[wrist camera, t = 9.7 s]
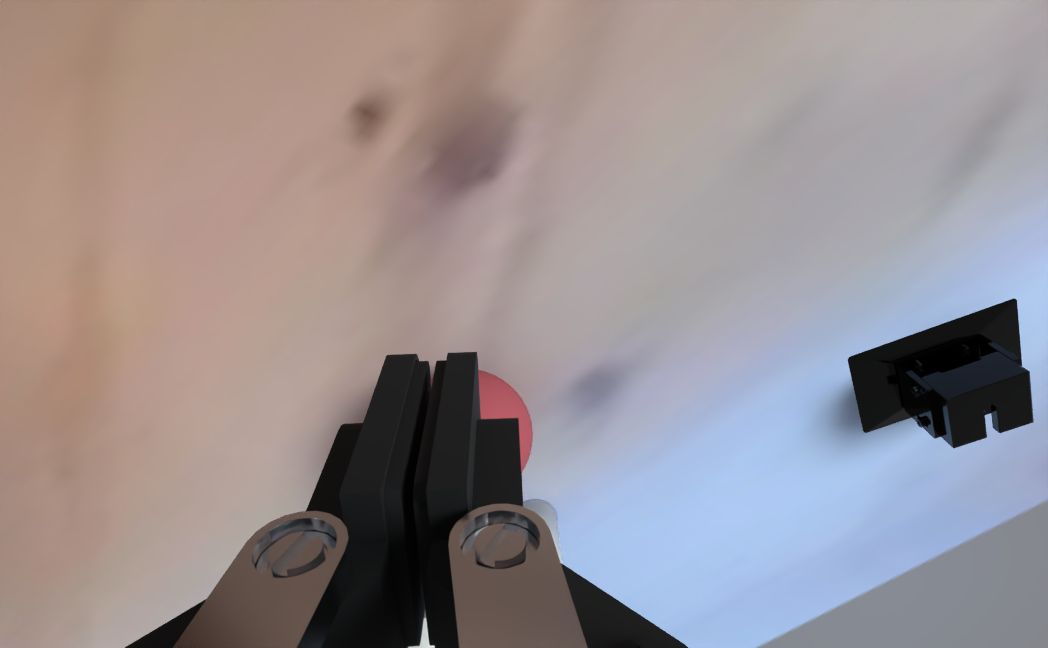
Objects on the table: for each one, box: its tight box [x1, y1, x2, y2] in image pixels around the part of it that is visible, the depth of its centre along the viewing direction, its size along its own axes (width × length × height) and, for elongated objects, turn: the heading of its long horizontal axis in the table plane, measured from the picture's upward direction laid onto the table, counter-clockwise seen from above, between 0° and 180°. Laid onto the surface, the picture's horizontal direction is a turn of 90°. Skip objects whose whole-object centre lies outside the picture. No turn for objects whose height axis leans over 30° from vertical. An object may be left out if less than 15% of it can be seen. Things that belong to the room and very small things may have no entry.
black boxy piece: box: [848, 299, 1033, 448], centre depth 31 cm, size 12×7×5 cm, turn 112°
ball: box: [431, 371, 533, 473], centre depth 29 cm, size 6×6×6 cm
